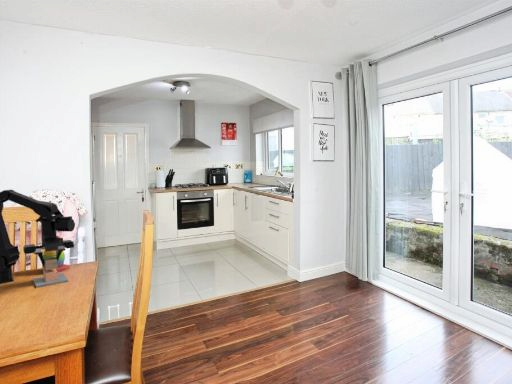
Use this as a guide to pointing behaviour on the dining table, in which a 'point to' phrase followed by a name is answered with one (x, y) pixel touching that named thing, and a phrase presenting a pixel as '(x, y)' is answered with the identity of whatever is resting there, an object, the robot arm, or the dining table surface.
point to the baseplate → (41, 282)
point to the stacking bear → (60, 262)
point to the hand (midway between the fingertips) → (50, 265)
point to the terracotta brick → (50, 275)
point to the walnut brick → (50, 263)
